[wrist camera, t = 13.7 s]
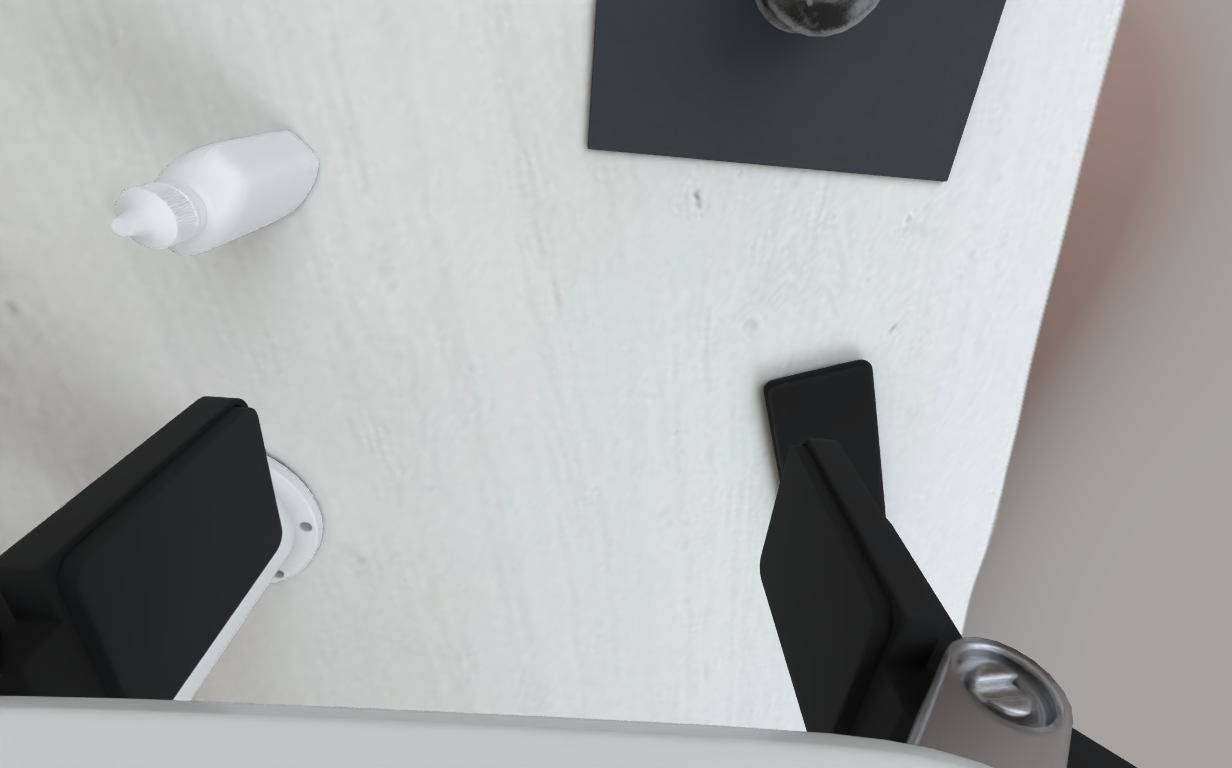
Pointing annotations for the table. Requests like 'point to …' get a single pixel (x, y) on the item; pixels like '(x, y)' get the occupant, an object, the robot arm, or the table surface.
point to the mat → (790, 84)
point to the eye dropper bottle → (218, 193)
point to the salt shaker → (815, 15)
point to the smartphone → (829, 416)
